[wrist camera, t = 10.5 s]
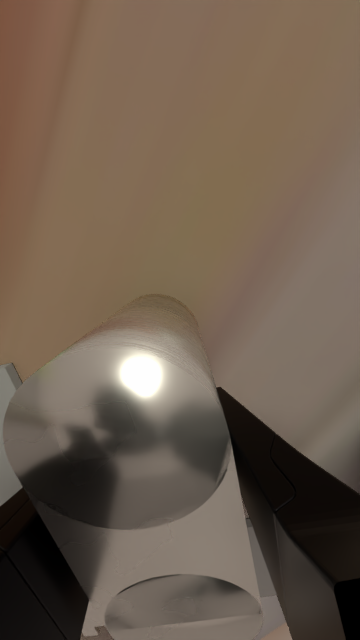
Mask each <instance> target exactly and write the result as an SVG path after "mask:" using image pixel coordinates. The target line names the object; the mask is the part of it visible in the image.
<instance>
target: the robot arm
mask: <svg viewBox="0 0 360 640" xmlns="http://www.w3.org/2000/svg"><path fill="white" fill-rule="evenodd" d="M216 389H217V393H218V396H219V399H220V403H221V406H222V410H223V413H224V416H225V420H226V423H227V427H228V431H229V434H230V439H231V445H232V450H233V455H234V461H235V466H236V472H237V477H238V482H239V488H240V493H241V495H242V498H243V501H244V504H245V507H246V510H247V512H248V515H249V518H250V521H251V524H252V526H253V529H254V532H255V535H256V538H257V541H258V543H259V546H260V549H261V552H262V555H263V558H264V560H265V563H266V566H267V569H268V572H269V574H270V577H271V580H272V583H273V586H274V589H275V591H276V594H277V597H278V600H279V603H280V605H281V608H282V611H283V614H284V617H285V620H286V622H287V625H288V627H289V631H290V634H291V636H292V639H293V640H360V494H359V493H357V492H356V491H354V490H353V489H351V488H350V487H349V486H347V485H346V484H344V483H343V482H341V481H340V480H338V479H337V478H335V477H334V476H333V475H331V474H330V473H328V472H327V471H325V470H324V469H322V468H321V467H319V466H318V465H317V464H315V463H314V462H312V461H311V460H310V459H308V458H307V457H305V456H304V455H303V454H301V453H300V452H299V451H297V450H296V449H295V448H293V447H292V446H291V445H290V444H288V443H287V442H286V441H285V440H283V439H282V438H281V437H280V436H279V435H278V434H276V433H275V432H274V431H273V430H271V429H270V428H269V427H268V426H267V425H265V424H264V423H263V422H262V421H261V420H259V419H258V418H257V417H256V416H255V415H253V414H252V413H251V412H250V411H249V410H247V409H246V408H245V407H244V406H243V405H241V404H240V403H239V402H238V401H237V400H235V399H234V398H233V397H232V396H231V395H229V394H228V393H227V392H226V391H225V390H223V389H222V388H221V387H217V388H216ZM88 604H89V598H88V597H87V595H86V593H85V592H84V590H83V588H82V587H81V585H80V583H79V581H78V580H77V578H76V576H75V575H74V573H73V571H72V570H71V568H70V566H69V565H68V563H67V561H66V559H65V558H64V556H63V554H62V553H61V551H60V549H59V548H58V546H57V544H56V542H55V541H54V539H53V537H52V536H51V534H50V532H49V531H48V529H47V527H46V526H45V524H44V522H43V520H42V519H41V517H40V515H39V514H38V512H37V510H36V509H35V507H34V505H33V503H32V502H31V500H30V498H29V497H28V495H27V493H26V492H25V490H24V488H23V487H22V488H21V489H20V490H19V491H18V492H16V493H15V494H14V495H13V496H12V497H11V498H10V499H8V500H7V501H6V502H5V503H4V504H2V505H1V506H0V640H80V637H81V633H82V629H83V624H84V620H85V616H86V612H87V608H88Z"/></svg>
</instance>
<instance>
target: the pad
mask: <svg viewBox="0 0 360 640" xmlns="http://www.w3.org/2000/svg"><path fill="white" fill-rule="evenodd" d="M21 385H22V382H21V380H20V378H19V376H18V374H17V372H16V370H15V368H14V366H13V364H12V363H9V364H4V365H0V506H1V505H2V504H4V503H5V502H6V501H7V500H8V499H10V498H11V497H12V496H13V495H14V494H15V493H16V492H18V491H19V490H20V489H21V488H22V485H21V483H20V481H19V480H18V478H17V476H16V475H15V473H14V471H13V469H12V467H11V465H10V463H9V461H8V458H7V455H6V452H5V448H4V442H3V423H4V417H5V413H6V410H7V407H8V405H9V402H10V400H11V399H12V397H13V395H14V394H15V392H16V391H17V389H18V388H19V387H20V386H21Z"/></svg>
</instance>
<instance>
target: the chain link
mask: <svg viewBox="0 0 360 640" xmlns="http://www.w3.org/2000/svg"><path fill="white" fill-rule="evenodd" d="M3 442H4V448H5V452H6V455H7V458H8V461H9V463H10V465H11V467H12V469H13V471H14V473H15V475H16V476H17V478H18V480H19V481H20V483H21V485H22V487H23V488H24V490H25V492H26V493H27V495H28V497H29V498H30V500H31V502H32V503H33V505H34V507H35V509H36V510H37V512H38V514H39V515H40V517H41V519H42V520H43V522H44V524H45V526H46V527H47V529H48V531H49V532H50V534H51V536H52V537H53V539H54V541H55V542H56V544H57V546H58V548H59V549H60V551H61V553H62V554H63V556H64V558H65V559H66V561H67V563H68V565H69V566H70V568H71V570H72V571H73V573H74V575H75V576H76V578H77V580H78V581H79V583H80V585H81V587H82V588H83V590H84V592H85V593H86V595H87V597H88V598H89V600H90V602H91V604H92V605H93V607H94V609H95V610H96V612H97V614H98V615H99V617H100V619H101V620H102V622H103V624H104V626H105V627H106V629H107V631H108V632H109V634H110V635H111V636H112V637H113V638H114V639H115V640H253V639H254V638H255V637H256V636H257V634H258V633H259V631H260V629H261V627H262V624H263V611H262V606H261V600H260V595H259V590H258V584H257V579H256V573H255V568H254V563H253V557H252V552H251V547H250V541H249V536H248V531H247V525H246V520H245V514H244V509H243V504H242V498H241V493H240V488H239V482H238V477H237V472H236V466H235V461H234V455H233V450H232V445H231V439H230V434H229V431H228V427H227V423H226V420H225V416H224V413H223V410H222V406H221V403H220V399H219V396H218V393H217V389H216V386H215V382H214V379H213V375H212V372H211V369H210V365H209V362H208V358H207V355H206V352H205V348H204V345H203V341H202V338H201V335H200V331H199V328H198V324H197V321H196V319H195V317H194V315H193V314H192V312H191V311H190V310H189V309H188V308H187V307H186V306H185V305H184V304H183V303H182V302H180V301H179V300H177V299H175V298H172V297H170V296H166V295H161V294H150V295H145V296H141V297H139V298H136V299H134V300H133V301H131V302H130V303H128V304H127V305H126V306H124V307H123V308H122V309H120V310H119V311H117V312H116V313H115V314H113V315H112V316H111V317H109V318H108V319H107V320H105V321H104V322H102V323H101V324H100V325H98V326H97V327H96V328H94V329H93V330H92V331H90V332H89V333H88V334H86V335H85V336H83V337H82V338H81V339H79V340H78V341H77V342H75V343H74V344H73V345H71V346H70V347H68V348H67V349H66V350H64V351H63V352H62V353H60V354H59V355H58V356H56V357H55V358H54V359H52V360H51V361H49V362H48V363H47V364H45V365H44V366H43V367H41V368H40V369H39V370H37V371H36V372H35V373H33V374H32V375H31V376H30V377H29V378H28V379H26V380H25V381H24V382H23V384H22V385H21V386H20V387H19V388H18V389H17V391H16V392H15V394H14V395H13V397H12V399H11V400H10V402H9V405H8V407H7V410H6V413H5V417H4V423H3Z"/></svg>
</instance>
